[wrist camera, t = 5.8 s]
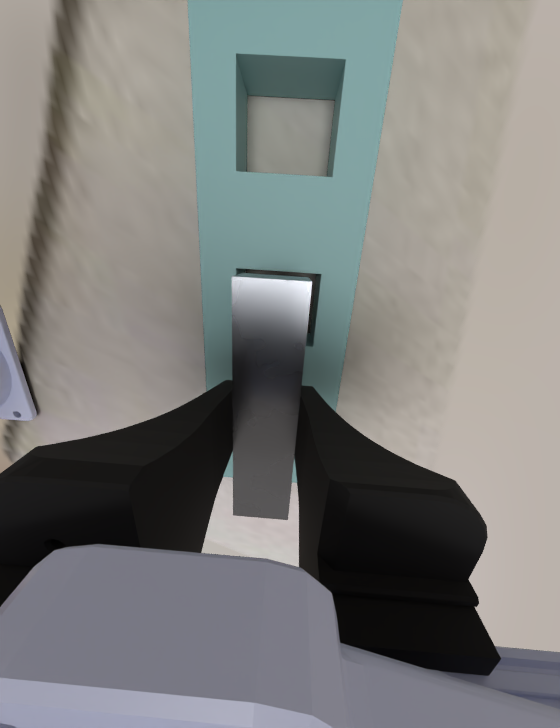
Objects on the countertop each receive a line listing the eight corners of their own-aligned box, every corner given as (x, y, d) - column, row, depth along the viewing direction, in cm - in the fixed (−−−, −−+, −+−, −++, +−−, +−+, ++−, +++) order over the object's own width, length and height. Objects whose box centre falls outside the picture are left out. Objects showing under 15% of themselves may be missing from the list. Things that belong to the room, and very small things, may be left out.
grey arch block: (250, 441, 16) (233, 515, 12) (254, 269, 12) (231, 276, 8) (289, 444, 16) (287, 519, 12) (304, 273, 12) (312, 281, 8)
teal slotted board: (319, 456, 18) (323, 484, 16) (220, 448, 19) (210, 475, 16) (380, 44, 11) (405, -16, 8) (209, 35, 11) (186, -26, 8)
